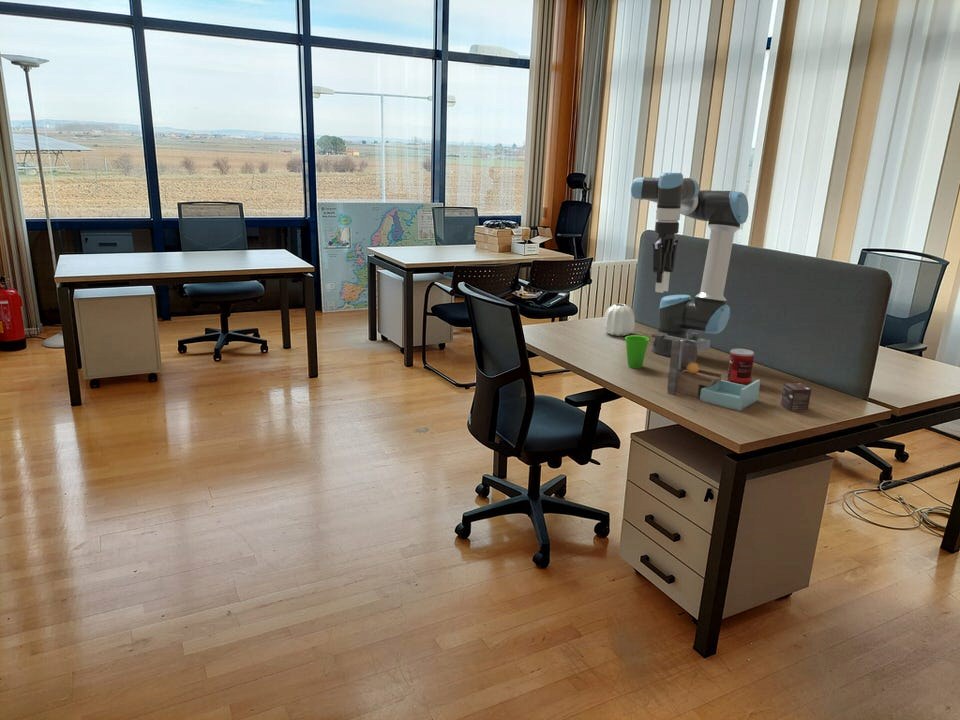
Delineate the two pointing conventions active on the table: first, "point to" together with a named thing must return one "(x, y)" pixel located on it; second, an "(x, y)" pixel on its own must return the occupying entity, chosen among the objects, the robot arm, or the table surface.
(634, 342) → the cup
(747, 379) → the canned food
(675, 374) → the grey angular frame
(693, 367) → the ball
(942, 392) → the table surface
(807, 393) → the box
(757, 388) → the light blue tray
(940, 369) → the table surface
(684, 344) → the lever
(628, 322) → the vase
